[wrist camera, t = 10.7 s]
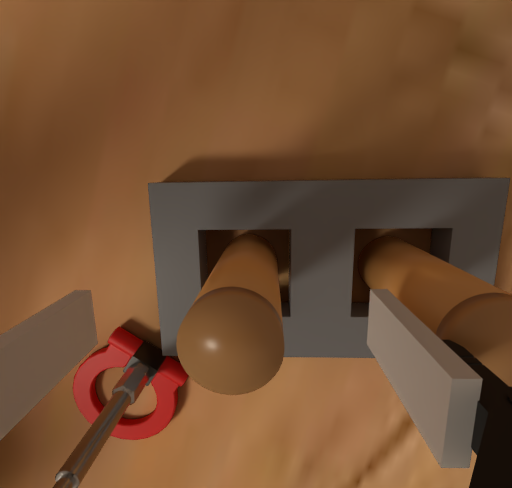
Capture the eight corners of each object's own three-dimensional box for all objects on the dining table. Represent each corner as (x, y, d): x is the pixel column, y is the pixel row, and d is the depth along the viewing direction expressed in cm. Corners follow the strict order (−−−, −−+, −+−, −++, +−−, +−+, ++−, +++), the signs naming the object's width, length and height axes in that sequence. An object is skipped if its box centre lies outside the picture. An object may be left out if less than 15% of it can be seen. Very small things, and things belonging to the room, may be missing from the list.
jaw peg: (218, 281, 24) (169, 384, 12) (227, 229, 23) (184, 286, 11) (271, 291, 24) (272, 403, 12) (282, 240, 23) (294, 307, 11)
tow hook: (150, 445, 28) (203, 370, 26) (45, 673, 16) (131, 567, 13) (65, 396, 27) (112, 315, 25) (-115, 593, 15) (-54, 468, 13)
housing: (172, 338, 25) (162, 355, 23) (160, 182, 23) (147, 183, 20) (461, 340, 24) (482, 358, 22) (482, 177, 22) (510, 178, 19)
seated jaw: (356, 289, 24) (441, 403, 12) (359, 236, 23) (454, 302, 11) (411, 289, 23) (553, 405, 12) (416, 236, 23) (575, 303, 11)
